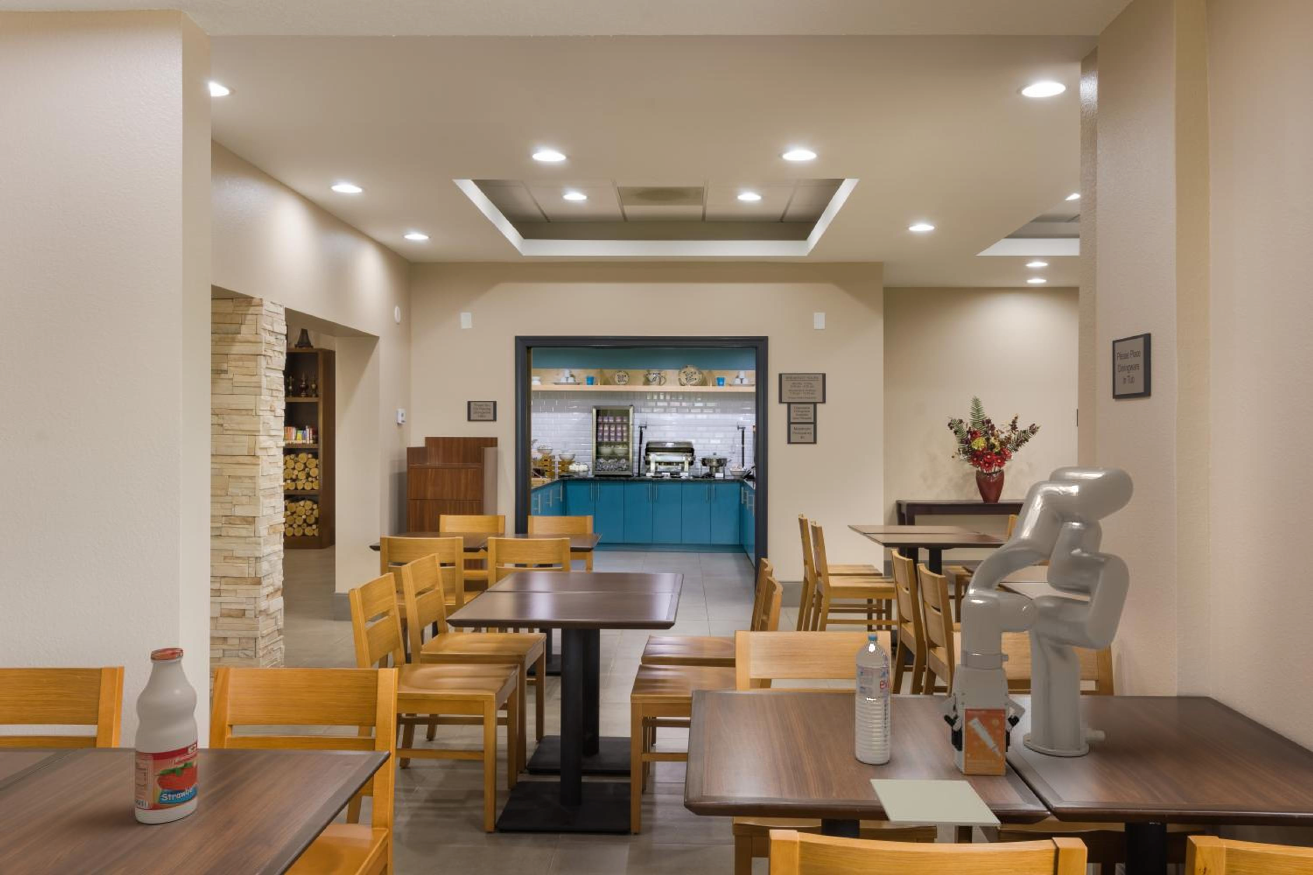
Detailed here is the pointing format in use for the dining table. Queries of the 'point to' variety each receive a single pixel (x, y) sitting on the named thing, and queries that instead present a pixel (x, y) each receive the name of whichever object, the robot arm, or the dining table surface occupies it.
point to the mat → (932, 803)
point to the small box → (983, 741)
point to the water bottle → (872, 703)
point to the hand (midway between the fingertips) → (980, 748)
